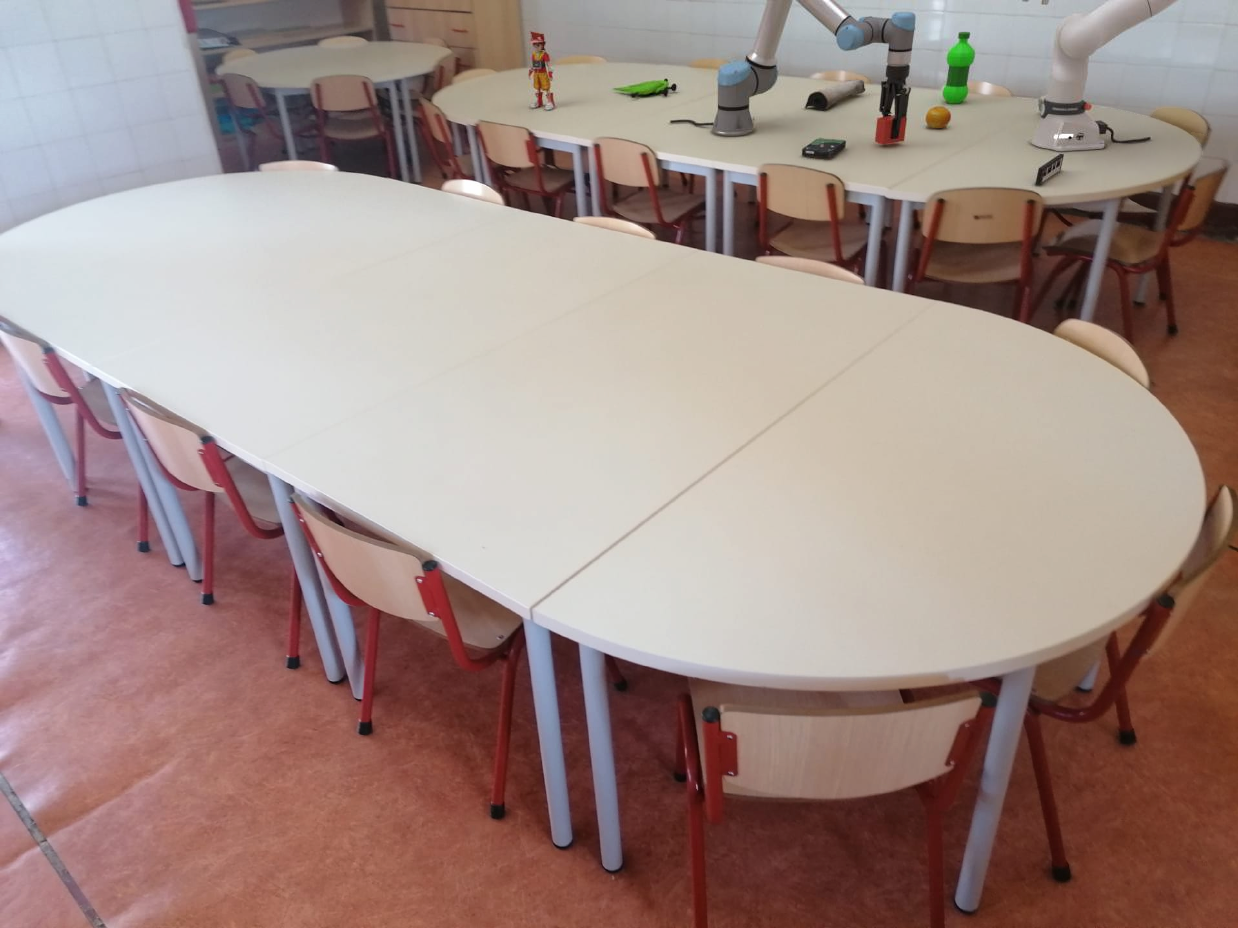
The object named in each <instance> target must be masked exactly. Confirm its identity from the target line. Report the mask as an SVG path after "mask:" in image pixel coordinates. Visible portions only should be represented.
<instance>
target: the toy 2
mask: <svg viewBox="0 0 1238 928" xmlns="http://www.w3.org/2000/svg"><path fill="white" fill-rule="evenodd" d="M669 85H670V83H669V79H668V78H664V79H663V80H649V81H644V82H640V83H634V84H629V85H627V86H621V87H613V88H612V89H613V90H616V91H619V92H623V93H627V94H628V93H629V94H631V95H630V96H631V98H632V99H634V98H636V96H637V95H650V94H652V93H654V94H658V93H662V95H663V96H665V97H667V96H668V95H669V90H671V91H672V92H676V91H677V84H676V83H672V84H671V86H669Z"/></svg>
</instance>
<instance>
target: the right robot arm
mask: <svg viewBox="0 0 1238 928" xmlns="http://www.w3.org/2000/svg"><path fill="white" fill-rule="evenodd" d="M1029 1H1030V0H1021V2H1024V3H1026V2H1027V3H1028V2H1029ZM1178 1H1179V0H1107V1H1106V2H1105V3H1103V4H1101V5H1100V6H1099V7H1098V8H1096V9H1095V10H1093V11H1091V12H1090V13H1089V14H1087V15H1086V14H1085V13H1082V12H1081V13H1077V12H1076V13H1072V14H1068V15H1067V16H1066V15H1065V17H1064V18H1062V19H1061V20H1060V21H1059V23H1058V24H1057V26H1056V29H1055V35H1054V42H1053V49H1052V57H1051V67H1050V75H1049V80H1048V84H1047V90H1046V94H1045V95H1046V98H1045V99H1044V102H1043V104H1042V109H1041V112H1040V118H1039V119H1040V120H1039V122H1038V125H1037V128H1036V131H1035V133H1034V135H1033V138H1032V139H1031V141H1030V143H1031V144H1032V145H1033V146H1036V147H1039V148H1043V149H1049V150H1053V151H1056V152H1069V151H1070V152H1073V151H1088V150H1102V149H1104V148H1105V145H1106V144H1105V143H1106V142H1105V141H1104V140H1103V139H1102V138H1101V137H1100V135H1106V134H1107V131H1109V132H1110V141H1111V142H1113V143H1117V144H1118V143H1119V144H1129V143H1140V142H1145V141H1150V140H1151V139H1152V138H1151V136H1146V137H1143V138H1135V139H1126V140H1125V139H1124V140H1118V139H1115V138H1114V135H1115V132H1114V130H1113V128H1112V127H1110V126H1109V124H1108V123H1107V122H1104V121H1103V120H1100V119H1099V120H1095V119H1093V117H1091V116H1090V115H1089V114H1088V113H1087V112H1086V111H1091V109H1092V108H1093V106H1092V104H1091V103H1089V102H1087V101H1085V100H1084V99H1083V97H1084V92H1085V90H1086V89H1085V88H1086V84H1087V81H1088V75H1089V58H1090V56H1093V54H1095V52H1097V50H1099V49H1101V48H1102V47H1104V46H1105V45H1107V44H1108V43H1110V42H1111V41H1113V40H1114V39H1115V38H1116V37H1118V36H1119V35H1121V34H1122V33H1125V32H1126V31H1127V30H1130V29H1131V28H1133V27H1135V26H1138V25H1139V24H1141V23H1143V22H1145V21H1147V20H1149V19H1151V18H1153V17H1155V16H1156V15H1158V14H1160V13H1162V12H1163V11H1165V10H1166V9H1168V8H1169V7H1171V6H1172V5H1174V4H1175V3H1176V2H1178ZM1049 2H1050V0H1041V2H1040V3H1041V5H1044V6H1045V5H1046V6H1047V5H1049Z"/></svg>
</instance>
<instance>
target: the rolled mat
mask: <svg viewBox="0 0 1238 928" xmlns="http://www.w3.org/2000/svg"><path fill="white" fill-rule="evenodd" d="M865 91H866V88H865V82H864V80H863V79H857V78H856V79H849V80H846V81H843V82H840V83H838V84H835V85H832V86H829V87H824V88H822V89H818V90H816V91H814V92H812V93H810V94H809V95H808V98H807V100H806V103H805V106H804V108H805V109H807V108H808V107H813V108H814V109H815V110H820V111H826V110H827V109H828V108H830V107H831V106H832V105H834V104H836V103H837V102H838V101H840V100H842V99H843V98H845V97H847V96H850V95H854V96H857V95H861V94H863V93H865Z"/></svg>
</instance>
